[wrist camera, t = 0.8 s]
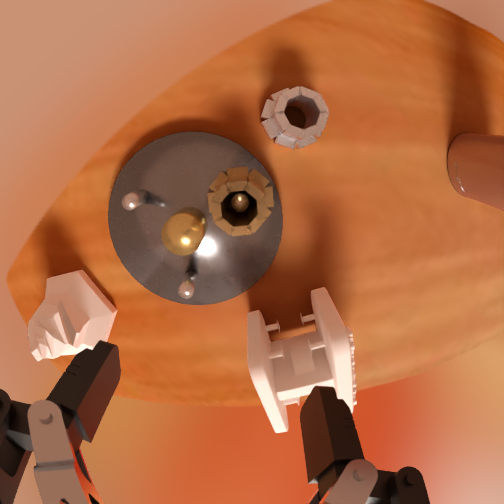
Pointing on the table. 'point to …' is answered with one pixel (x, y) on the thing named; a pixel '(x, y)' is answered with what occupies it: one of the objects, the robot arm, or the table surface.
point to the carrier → (188, 220)
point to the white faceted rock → (70, 317)
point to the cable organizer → (301, 359)
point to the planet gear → (280, 125)
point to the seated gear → (239, 182)
